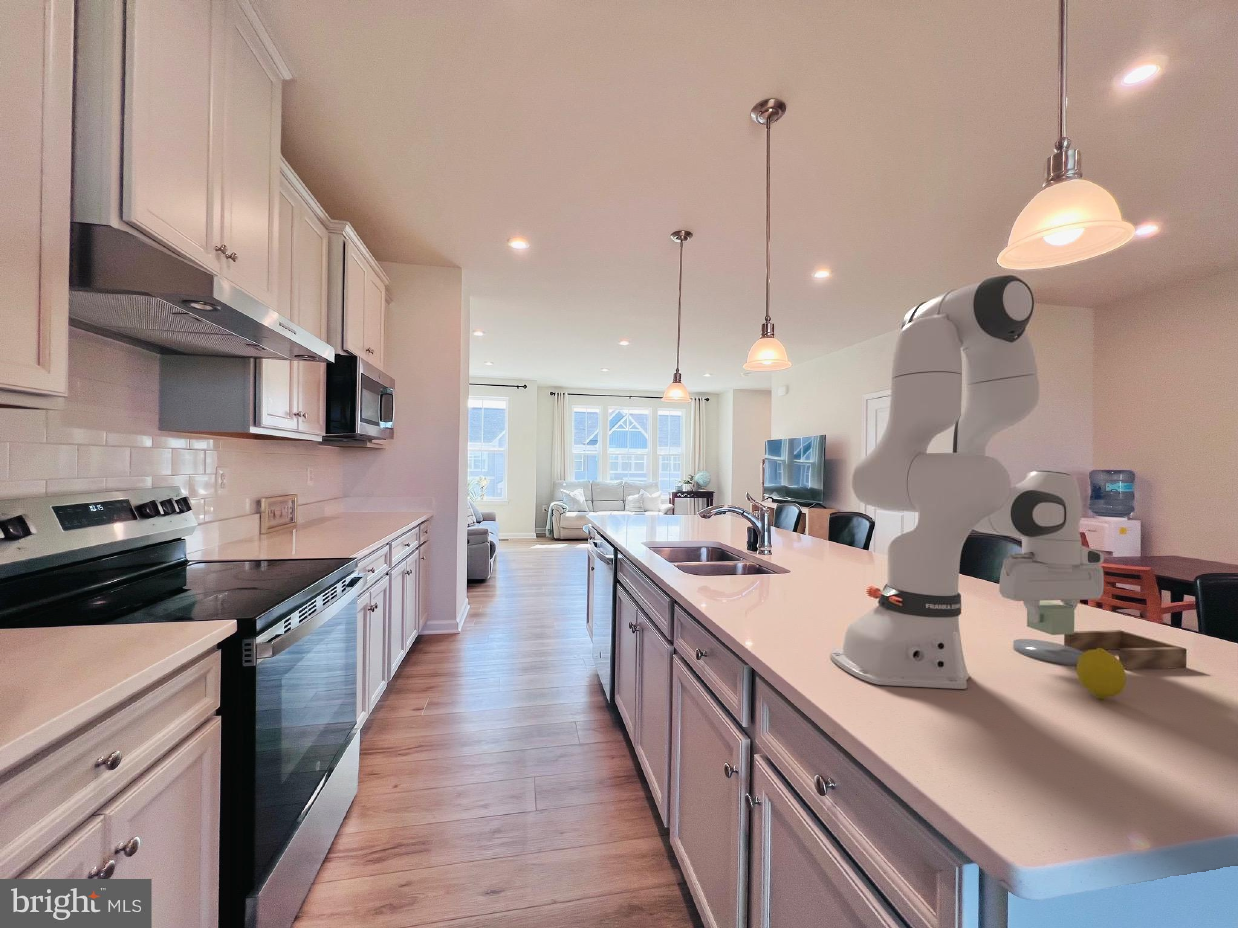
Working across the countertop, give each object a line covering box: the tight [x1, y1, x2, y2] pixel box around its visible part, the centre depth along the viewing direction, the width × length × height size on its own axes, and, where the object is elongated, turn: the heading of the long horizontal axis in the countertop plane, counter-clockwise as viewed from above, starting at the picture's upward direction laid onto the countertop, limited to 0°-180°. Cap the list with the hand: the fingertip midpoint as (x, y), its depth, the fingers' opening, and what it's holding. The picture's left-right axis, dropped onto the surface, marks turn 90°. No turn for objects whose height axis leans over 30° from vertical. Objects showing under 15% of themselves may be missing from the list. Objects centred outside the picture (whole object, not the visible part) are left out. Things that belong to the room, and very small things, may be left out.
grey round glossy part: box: [1012, 638, 1085, 666], centre depth 97 cm, size 11×11×1 cm
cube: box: [1026, 600, 1075, 636], centre depth 97 cm, size 5×5×5 cm
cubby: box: [1063, 629, 1188, 671], centre depth 96 cm, size 14×11×4 cm
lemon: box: [1076, 648, 1127, 700], centre depth 77 cm, size 6×6×8 cm
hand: (1050, 621), depth 97 cm, fingers closed on cube, 5 cm apart
